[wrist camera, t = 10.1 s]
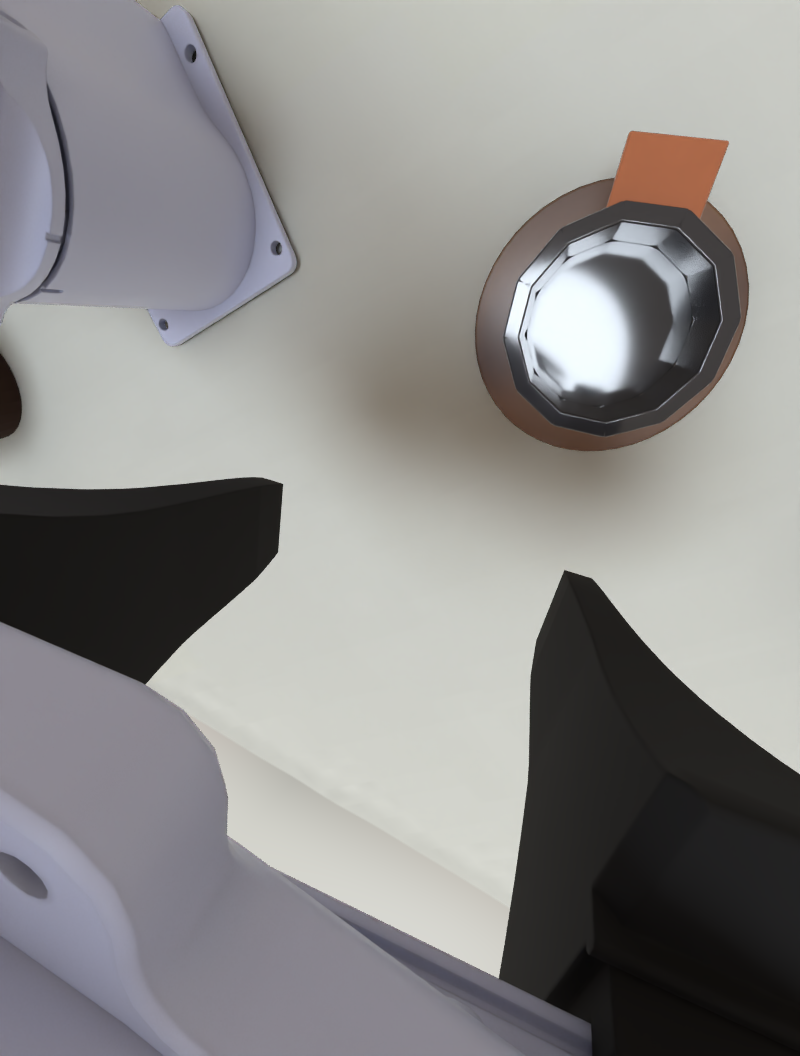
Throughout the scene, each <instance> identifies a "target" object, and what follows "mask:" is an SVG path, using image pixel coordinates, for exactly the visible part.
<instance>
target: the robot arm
mask: <svg viewBox="0 0 800 1056" xmlns="http://www.w3.org/2000/svg"><path fill="white" fill-rule="evenodd" d="M195 50H196V53H197V55H196V60H195V61H194V62H192V54H193V53H194V51H195ZM278 243H280V244H281V246H282V252H281V253H280V255H278V254H277V253H276V245H277V244H278ZM296 265H297V260H296V256H295V254H294V251H293V249H292V247H291V244H290V242H289V240H288V237H287V235H286V233H285V231H284V228H283V226H282V224H281V221H280V219H279V217H278V214H277V212H276V210H275V207H274V205H273V203H272V200H271V198H270V196H269V194H268V191H267V189H266V187H265V184H264V182H263V180H262V177H261V175H260V173H259V170H258V168H257V166H256V163H255V161H254V159H253V157H252V154H251V152H250V150H249V147H248V145H247V143H246V140H245V138H244V136H243V133H242V131H241V129H240V126H239V124H238V122H237V120H236V117H235V115H234V113H233V110H232V108H231V106H230V103H229V101H228V99H227V96H226V94H225V92H224V89H223V87H222V85H221V83H220V80H219V78H218V76H217V73H216V71H215V69H214V66H213V64H212V62H211V59H210V57H209V55H208V52H207V50H206V48H205V46H204V43H203V41H202V39H201V36H200V34H199V32H198V29H197V27H196V25H195V22H194V20H193V18H192V16H191V15H190V13H189V12H187V11H186V10H185V9H184V8H182V7H181V6H180V5H174V6H173V7H171V8H170V9H169V10H168V12H167V13H166V14H165V15H164V16H163V17H162V18H161V19H160V20H159V19H158V18H157V17H156V16H154V15H153V14H152V13H150V12H149V11H148V10H146V9H145V8H144V7H142V6H141V5H140V4H139V3H137V2H136V1H135V0H0V325H1V324H2V322H3V318H4V314H5V312H6V311H7V309H8V308H9V306H10V305H11V304H12V303H21V304H46V305H70V306H94V307H119V308H143V309H147V310H148V312H149V314H150V316H151V318H152V320H153V322H154V324H155V326H156V328H157V329H158V331H159V333H160V335H161V337H162V339H163V341H164V342H165V343H166V344H167V345H169V346H178V345H180V344H182V343H184V342H185V341H187V340H188V339H190V338H191V337H193V336H195V335H196V334H198V333H199V332H201V331H202V330H204V329H206V328H207V327H209V326H210V325H212V324H214V323H215V322H217V321H218V320H220V319H221V318H223V317H225V316H226V315H228V314H229V313H231V312H232V311H234V310H236V309H237V308H239V307H240V306H242V305H243V304H245V303H247V302H248V301H250V300H251V299H253V298H254V297H256V296H258V295H259V294H261V293H262V292H264V291H265V290H267V289H269V288H270V287H272V286H273V285H275V284H276V283H278V282H280V281H281V280H283V279H284V278H286V277H287V276H289V275H291V274H292V273H293V272H294V271H295V268H296ZM165 321H167V323H168V329H167V328H166V325H165ZM282 491H283V484H281V483H278V482H275V481H272V480H268V479H265V478H258V477H247V478H234V479H224V480H215V481H206V482H197V483H189V484H179V485H168V486H157V487H146V488H131V489H93V490H92V489H57V488H32V487H19V486H7V485H0V1056H800V774H799V773H797V772H796V771H794V770H793V769H791V768H790V767H788V766H787V765H785V764H784V763H782V762H781V761H779V760H778V759H777V758H775V757H774V756H773V755H771V754H770V753H768V752H767V751H766V750H764V749H763V748H762V747H760V746H759V745H757V744H756V743H755V742H753V741H752V740H751V739H749V738H748V737H747V736H746V735H744V734H743V733H742V732H741V731H739V730H738V729H737V728H736V727H734V726H733V725H732V724H730V723H729V722H728V721H727V720H725V719H724V718H723V717H722V716H720V715H719V714H718V713H717V712H715V711H714V710H713V709H712V708H711V707H710V706H708V705H707V704H706V703H705V702H704V701H703V700H701V699H700V698H699V697H698V696H697V695H696V694H695V693H694V692H693V691H692V690H690V689H689V688H688V687H687V686H686V685H685V684H684V683H683V682H682V681H681V680H680V679H679V678H677V677H676V676H675V675H674V674H673V673H672V672H671V671H670V670H669V669H668V668H667V667H666V666H665V665H664V664H663V663H662V662H661V660H660V659H659V658H658V657H657V656H656V655H655V654H654V653H653V652H652V651H651V650H650V649H649V647H648V646H647V645H646V644H645V643H644V642H643V641H642V640H641V638H640V637H639V636H638V635H637V634H636V633H635V631H634V630H633V629H632V628H631V627H630V625H629V624H628V623H627V622H626V620H625V619H624V618H623V617H622V615H621V614H620V613H619V612H618V610H617V609H616V608H615V606H614V605H613V604H612V603H611V601H610V600H609V599H608V597H607V596H606V595H605V593H604V592H603V591H602V590H601V588H600V587H599V586H598V585H597V583H596V582H595V581H594V580H593V579H592V578H588V577H585V576H582V575H579V574H575V573H572V572H569V571H566V570H564V573H563V575H562V578H561V580H560V583H559V585H558V588H557V590H556V593H555V595H554V598H553V600H552V603H551V605H550V608H549V610H548V613H547V615H546V618H545V620H544V623H543V625H542V628H541V630H540V633H539V635H538V638H537V641H536V646H535V652H534V658H533V664H532V671H531V683H530V735H529V771H528V785H527V793H526V801H525V809H524V817H523V824H522V832H521V839H520V846H519V853H518V860H517V867H516V874H515V881H514V888H513V894H512V900H511V907H510V913H509V920H508V926H507V933H506V939H505V945H504V951H503V957H502V963H501V969H500V975H499V979H498V978H496V977H494V976H492V975H490V974H488V973H486V972H484V971H482V970H480V969H478V968H476V967H474V966H472V965H470V964H468V963H466V962H464V961H462V960H460V959H457V958H455V957H453V956H451V955H449V954H447V953H445V952H443V951H441V950H439V949H437V948H435V947H433V946H431V945H429V944H427V943H425V942H423V941H421V940H419V939H417V938H415V937H413V936H411V935H408V934H407V933H404V932H402V931H400V930H398V929H396V928H394V927H392V926H390V925H388V924H386V923H384V922H382V921H380V920H378V919H376V918H374V917H372V916H370V915H368V914H366V913H364V912H362V911H360V910H357V909H356V908H354V907H352V906H349V905H347V904H345V903H343V902H341V901H339V900H337V899H335V898H333V897H331V896H329V895H327V894H325V893H323V892H321V891H319V890H317V889H315V888H313V887H311V886H309V885H307V884H305V883H303V882H300V881H299V880H296V879H295V878H292V877H290V876H288V875H286V874H284V873H282V872H280V871H278V870H276V869H274V868H272V867H270V866H269V865H267V864H266V863H265V862H264V861H262V860H261V859H259V858H258V857H257V856H255V855H254V854H253V853H251V852H250V851H249V850H247V849H246V848H245V847H243V846H242V845H240V844H239V843H238V842H236V841H235V840H233V839H232V838H230V837H229V836H227V811H228V796H227V791H226V786H225V782H224V778H223V775H222V771H221V768H220V764H219V761H218V758H217V754H216V751H215V748H214V747H213V746H212V745H211V743H210V742H209V741H208V739H207V738H206V737H205V736H204V734H203V733H202V732H201V731H200V729H199V728H198V727H197V726H196V724H195V723H194V722H193V721H192V720H191V719H190V717H189V716H188V715H187V713H186V712H185V711H184V710H183V709H181V708H180V707H178V706H177V705H175V704H174V703H172V702H171V701H169V700H168V699H166V698H165V697H163V696H161V695H160V694H158V693H157V692H155V691H154V690H152V689H151V688H149V687H148V686H146V685H145V684H146V683H147V682H148V681H149V680H150V679H151V677H152V676H153V675H154V674H155V673H156V672H157V671H158V670H159V669H160V667H161V666H162V665H163V664H164V663H165V662H166V661H167V660H168V659H169V658H170V657H171V656H172V654H173V653H174V652H175V651H176V650H177V649H178V648H179V647H180V646H181V645H182V644H183V643H184V642H185V641H186V640H187V639H188V638H189V637H190V636H191V635H192V634H193V633H194V632H196V631H197V630H198V629H199V628H200V627H201V626H203V625H204V624H205V623H206V622H207V621H208V620H209V619H211V618H212V617H213V616H214V615H215V614H216V613H218V612H219V611H220V610H221V609H222V608H223V607H225V606H226V605H227V604H228V603H229V602H230V601H231V600H233V599H234V598H235V597H236V596H237V595H238V594H239V593H241V592H242V591H243V590H244V589H245V588H246V587H247V586H249V585H250V584H251V583H252V582H253V581H254V580H255V579H256V578H257V577H258V576H259V575H260V574H261V572H262V571H263V570H264V569H265V568H266V567H267V565H268V564H269V563H270V562H271V560H272V559H273V558H274V557H275V556H276V554H277V553H278V545H279V532H280V518H281V505H282Z"/></svg>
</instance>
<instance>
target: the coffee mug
mask: <svg viewBox="0 0 800 1056" xmlns="http://www.w3.org/2000/svg"><path fill="white" fill-rule="evenodd" d="M20 418H21V399H20V395H19V390H18V387H17V384H16V381H15V378H14V376H13V374H12V372H11V370H10V368H9V366H8V365H7V363H6V362H5V360H4V358H3V357H2V356H1V354H0V439H1V438H4V437H7V436H9V435H11V434H12V433H13V432H14V431H15V430H16V428H17V427H18V425H19V422H20Z"/></svg>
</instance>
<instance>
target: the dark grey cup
mask: <svg viewBox="0 0 800 1056" xmlns="http://www.w3.org/2000/svg"><path fill="white" fill-rule="evenodd" d="M728 145H729V142H728V141H725V140H716V139H706V138H696V137H687V136H677V135H667V134H658V133H648V132H639V131H630V133H629V134H628V137H627V140H626V143H625V147H624V150H623V153H622V156H621V160H620V163H619V166H618V169H617V173H616V176H615V179H614V183H613V186H612V189H611V192H610V196H609V199H608V202H607V205H606V208H604V209H602V210H600V211H598V212H595V213H593V214H591V215H588V216H586V217H584V218H582V219H579V220H577V221H575V222H572V223H570V224H568V225H566V226H563V227H562V228H561V229H559V230H558V231H557V232H556V234H555V235H554V236H553V237H552V238H551V240H550V241H549V242H548V243H547V244H546V246H545V247H544V248H543V249H542V250H541V252H540V253H539V254H538V255H537V256H536V257H535V259H534V260H533V261H532V262H531V263H530V265H529V266H528V267H527V268H526V269H525V271H524V272H523V273H522V274H521V275H520V277H519V278H518V280H517V282H516V286H515V290H514V294H513V298H512V302H511V306H510V310H509V314H508V318H507V322H506V326H505V330H504V334H503V342H504V346H505V350H506V354H507V358H508V362H509V366H510V369H511V373H512V377H513V381H514V385H515V388H516V389H517V392H518V393H519V394H520V395H521V396H522V397H523V398H524V399H526V400H527V401H528V402H529V403H530V404H531V405H532V406H533V407H534V408H535V409H536V410H537V411H538V412H539V413H540V414H541V415H542V416H543V417H544V418H545V419H546V420H547V421H548V422H549V423H550V424H552V425H554V426H557V427H561V428H565V429H569V430H574V431H578V432H582V433H586V434H591V435H595V436H599V437H609V436H613V435H617V434H621V433H625V432H629V431H633V430H636V429H640V428H644V427H648V426H652V425H656V424H660V423H662V422H664V421H665V420H666V419H668V418H669V417H670V416H671V415H673V414H674V413H675V412H676V411H677V410H679V409H680V408H681V407H682V406H683V405H685V404H686V403H687V402H688V401H689V400H691V399H692V398H693V397H694V396H695V395H697V394H698V393H699V392H700V391H702V390H703V389H704V388H705V387H706V386H708V385H709V384H710V383H711V382H712V380H713V379H714V378H715V376H716V374H717V372H718V369H719V367H720V365H721V363H722V361H723V358H724V356H725V354H726V352H727V350H728V347H729V345H730V343H731V341H732V339H733V336H734V334H735V332H736V330H737V328H738V325H739V323H740V318H741V309H740V300H739V292H738V283H737V275H736V266H735V257H734V255H732V254H733V253H732V251H731V250H730V249H729V248H728V247H727V246H726V245H725V244H724V243H723V242H722V241H721V240H720V239H719V238H718V237H717V236H716V235H715V234H714V233H713V232H712V231H711V230H710V229H709V228H708V227H707V226H706V225H705V224H704V223H703V222H702V221H701V220H700V218H701V215H702V213H703V210H704V207H705V205H706V202H707V200H708V197H709V194H710V192H711V189H712V187H713V184H714V181H715V179H716V176H717V174H718V171H719V168H720V166H721V163H722V161H723V158H724V155H725V153H726V150H727V148H728Z"/></svg>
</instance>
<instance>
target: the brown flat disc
mask: <svg viewBox="0 0 800 1056" xmlns="http://www.w3.org/2000/svg"><path fill="white" fill-rule="evenodd" d="M614 179H615V178H611V179H605V180H600V181H596V182H593V183H590V184H587V185H584V186H581V187H579V188H577V189H575V190H572V191H570V192H568V193H566V194H564V195H562V196H560V197H559V198H557V199H556V200H554V201H552V202H551V203H549V204H548V205H546V206H545V207H543V208H542V209H541V210H540V211H538V212H537V213H536V214H535V215H534V216H532V217H531V218H530V219H529V220H528V221H527V222H526V223H525V224H524V225H523V226H522V227H521V228H520V229H519V230H518V231H517V232H516V233H515V234H514V236H513V237H512V238H511V239H510V241H509V242H508V243H507V245H506V246H505V247H504V248H503V250H502V252H501V253H500V255H499V257H498V258H497V260H496V262H495V263H494V265H493V267H492V269H491V271H490V273H489V276H488V278H487V280H486V282H485V285H484V288H483V291H482V294H481V297H480V301H479V306H478V311H477V316H476V327H475V347H476V354H477V361H478V365H479V369H480V372H481V376H482V379H483V381H484V384H485V386H486V388H487V390H488V392H489V394H490V396H491V397H492V399H493V401H494V402H495V404H496V405H497V407H498V408H499V409H500V410H501V412H502V413H503V414H504V415H505V416H506V417H507V418H508V419H509V420H510V421H511V422H512V423H513V424H514V425H515V426H517V427H518V428H519V429H521V430H522V431H524V432H525V433H526V434H528V435H530V436H532V437H534V438H536V439H537V440H539V441H542V442H544V443H547V444H550V445H552V446H556V447H560V448H565V449H569V450H579V451H602V450H609V449H617V448H621V447H624V446H628V445H632V444H635V443H638V442H640V441H643V440H646V439H648V438H651V437H653V436H654V435H656V434H658V433H660V432H662V431H664V430H666V429H668V428H669V427H671V426H672V425H674V424H675V423H677V422H678V421H680V420H681V419H682V418H684V417H685V416H686V415H687V414H688V413H690V412H691V411H692V410H693V409H694V408H696V407H697V406H698V405H699V403H700V402H701V401H702V400H703V399H704V398H705V397H706V396H707V395H708V394H709V393H710V392H711V390H712V389H713V388H714V387H715V385H716V384H717V383H718V381H719V380H720V379H721V377H722V376H723V374H724V372H725V371H726V369H727V367H728V366H729V364H730V362H731V360H732V358H733V356H734V354H735V352H736V349H737V347H738V345H739V342H740V339H741V336H742V333H743V329H744V326H745V322H746V316H747V310H748V300H749V282H748V274H747V266H746V262H745V259H744V255H743V252H742V248H741V246H740V244H739V242H738V240H737V237H736V235H735V233H734V231H733V229H732V228H731V227H730V225H729V224H728V222H727V221H726V220H725V218H724V217H723V215H722V214H721V213H720V212H719V211H718V210H717V209H716V208H715V207H714V206H713V205H712V204H711V203H710V202H708V201H707V202H706V205H705V207H704V210H703V213H702V215H701V218H700V220H701V221H702V222H703V223H704V224H705V225H706V226H707V227H708V228H709V229H710V230H711V231H712V232H713V233H714V234H715V235H716V236H717V237H718V238H719V239H720V240H721V241H722V242H723V243H724V244H725V245H726V246H727V247H728V248H729V249H730V250H731V251H732V253H733V254H732V255H734V257H735V266H736V275H737V283H738V292H739V300H740V309H741V318H740V323H739V325H738V328H737V330H736V332H735V334H734V336H733V339H732V341H731V343H730V345H729V347H728V350H727V352H726V354H725V356H724V358H723V361H722V363H721V365H720V367H719V369H718V372H717V374H716V376H715V378H714V379H713V380H712V382H711V383H710V384H709V385H708V386H706V387H705V388H704V389H703V390H702V391H700V392H699V393H698V394H697V395H695V396H694V397H693V398H692V399H691V400H689V401H688V402H687V403H686V404H685V405H683V406H682V407H681V408H680V409H679V410H677V411H676V412H675V413H674V414H673V415H671V416H670V417H669V418H668V419H666V420H665V421H664V422H662V423H660V424H656V425H652V426H648V427H644V428H640V429H636V430H633V431H629V432H625V433H621V434H617V435H613V436H609V437H599V436H595V435H591V434H586V433H582V432H578V431H574V430H569V429H565V428H561V427H557V426H554V425H552V424H550V423H549V422H548V421H547V420H546V419H545V418H544V417H543V416H542V415H541V414H540V413H539V412H538V411H537V410H536V409H535V408H534V407H533V406H532V405H531V404H530V403H529V402H528V401H527V400H526V399H524V398H523V397H522V396H521V395H520V394H519V393H518V392H517V389H516V388H515V385H514V381H513V377H512V373H511V369H510V366H509V362H508V358H507V354H506V350H505V346H504V342H503V334H504V330H505V326H506V322H507V318H508V314H509V310H510V306H511V302H512V298H513V294H514V290H515V286H516V282H517V280H518V278H519V277H520V275H521V274H522V273H523V272H524V271H525V269H526V268H527V267H528V266H529V265H530V263H531V262H532V261H533V260H534V259H535V257H536V256H537V255H538V254H539V253H540V252H541V250H542V249H543V248H544V247H545V246H546V244H547V243H548V242H549V241H550V240H551V238H552V237H553V236H554V235H555V234H556V232H557V231H558V230H559V229H561V228H562V227H563V226H566V225H568V224H570V223H572V222H575V221H577V220H579V219H582V218H584V217H586V216H588V215H591V214H593V213H595V212H598V211H600V210H602V209H604V208H606V205H607V202H608V199H609V196H610V192H611V189H612V186H613V183H614Z"/></svg>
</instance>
